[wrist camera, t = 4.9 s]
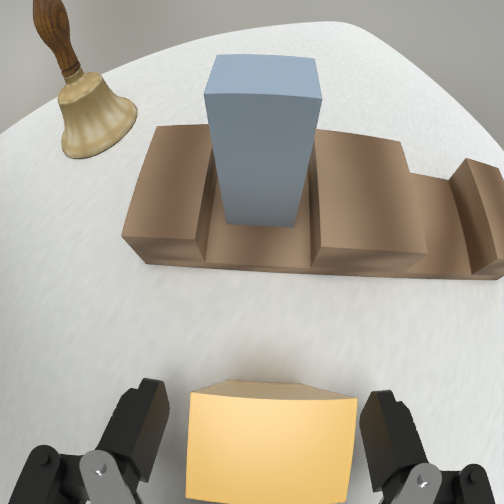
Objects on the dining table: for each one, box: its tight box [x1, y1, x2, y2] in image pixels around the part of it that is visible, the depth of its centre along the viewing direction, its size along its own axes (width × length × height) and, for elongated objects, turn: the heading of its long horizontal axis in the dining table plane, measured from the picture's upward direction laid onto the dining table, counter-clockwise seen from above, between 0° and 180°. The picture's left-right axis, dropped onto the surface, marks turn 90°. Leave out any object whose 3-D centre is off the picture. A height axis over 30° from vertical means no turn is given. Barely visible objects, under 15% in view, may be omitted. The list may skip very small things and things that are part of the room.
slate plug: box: [204, 54, 322, 228], centre depth 14 cm, size 4×3×10 cm
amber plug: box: [186, 380, 358, 504], centre depth 10 cm, size 4×3×10 cm
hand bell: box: [33, 0, 137, 159], centre depth 16 cm, size 8×8×16 cm
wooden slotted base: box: [121, 124, 504, 280], centre depth 17 cm, size 26×8×4 cm, turn 86°
